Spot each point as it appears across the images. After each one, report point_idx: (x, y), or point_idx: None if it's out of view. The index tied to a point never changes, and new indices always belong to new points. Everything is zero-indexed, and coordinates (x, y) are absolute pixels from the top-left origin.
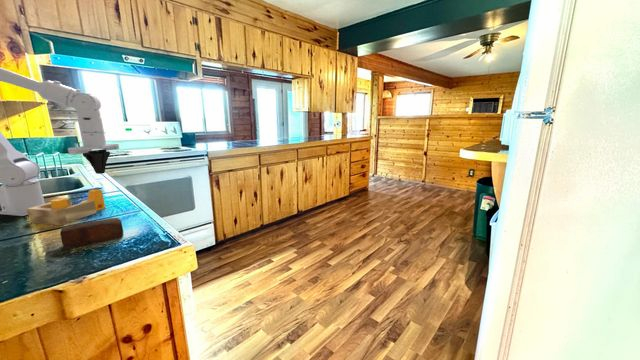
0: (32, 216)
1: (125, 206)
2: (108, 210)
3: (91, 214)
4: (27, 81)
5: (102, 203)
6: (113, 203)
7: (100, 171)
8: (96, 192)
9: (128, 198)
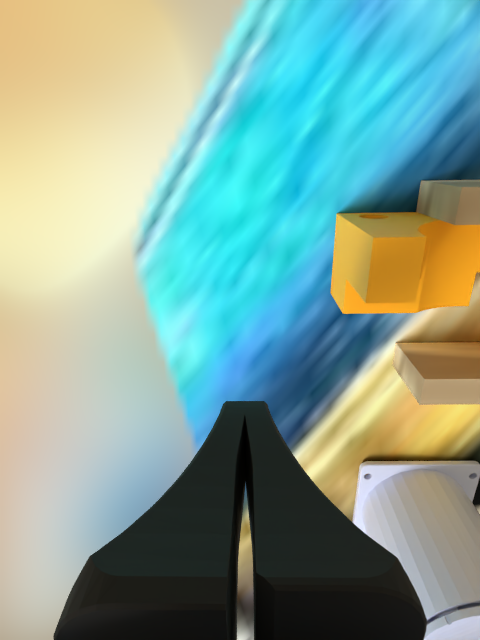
0: None
1: (286, 110)
2: (372, 150)
3: (451, 180)
4: None
5: (357, 219)
6: (249, 253)
7: (269, 414)
8: (414, 235)
9: (143, 255)
